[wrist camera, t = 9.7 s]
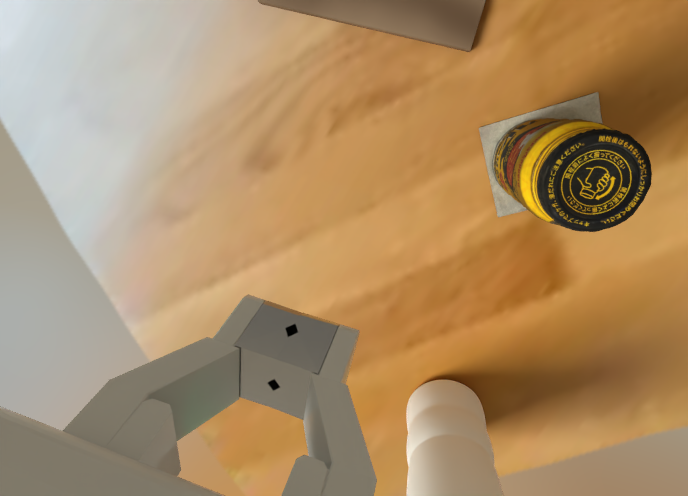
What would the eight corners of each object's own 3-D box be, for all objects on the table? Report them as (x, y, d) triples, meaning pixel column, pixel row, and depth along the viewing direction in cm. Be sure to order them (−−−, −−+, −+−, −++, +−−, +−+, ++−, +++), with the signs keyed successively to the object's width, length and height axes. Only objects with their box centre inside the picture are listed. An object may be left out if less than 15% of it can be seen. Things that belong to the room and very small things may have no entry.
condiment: (478, 127, 32) (515, 136, 21) (597, 92, 30) (709, 79, 19) (497, 216, 34) (540, 268, 23) (610, 188, 32) (720, 229, 21)
